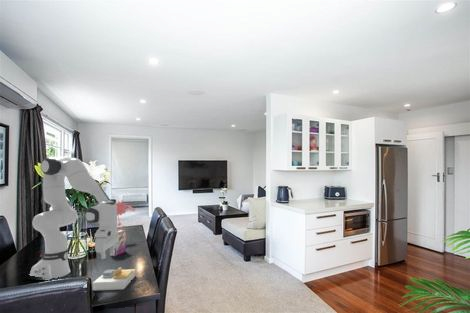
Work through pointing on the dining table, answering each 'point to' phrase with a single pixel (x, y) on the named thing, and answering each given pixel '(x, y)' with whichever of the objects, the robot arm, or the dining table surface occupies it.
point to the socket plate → (112, 282)
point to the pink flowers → (122, 210)
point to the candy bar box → (120, 244)
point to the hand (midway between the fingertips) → (107, 255)
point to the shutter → (122, 273)
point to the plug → (108, 273)
